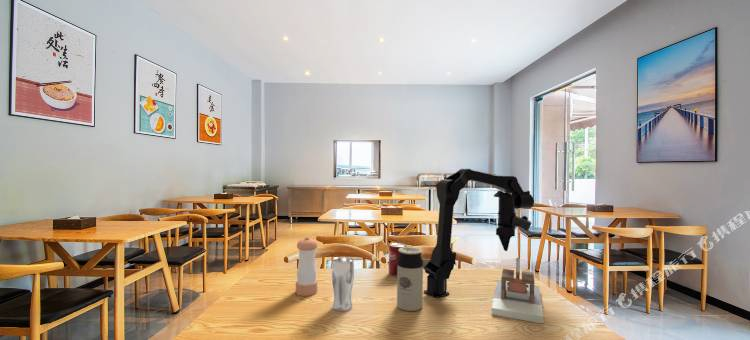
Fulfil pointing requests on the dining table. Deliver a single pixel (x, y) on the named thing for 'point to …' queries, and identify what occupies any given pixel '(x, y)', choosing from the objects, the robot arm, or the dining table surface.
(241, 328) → the dining table surface
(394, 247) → the soda can
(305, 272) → the pepper shaker
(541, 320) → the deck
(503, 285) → the tunnel
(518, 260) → the grey piece
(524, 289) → the block
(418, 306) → the travel mug
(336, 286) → the beer glass
